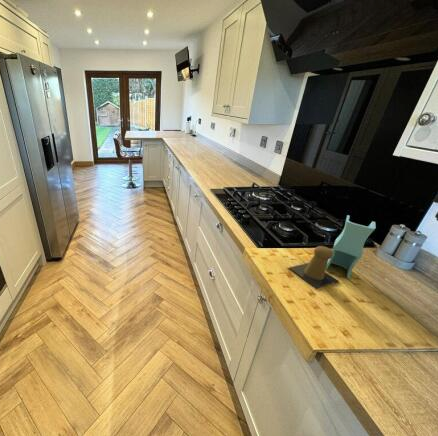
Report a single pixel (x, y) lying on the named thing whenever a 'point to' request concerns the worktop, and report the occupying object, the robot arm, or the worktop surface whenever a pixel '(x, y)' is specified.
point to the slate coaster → (314, 282)
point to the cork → (318, 263)
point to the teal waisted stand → (350, 245)
